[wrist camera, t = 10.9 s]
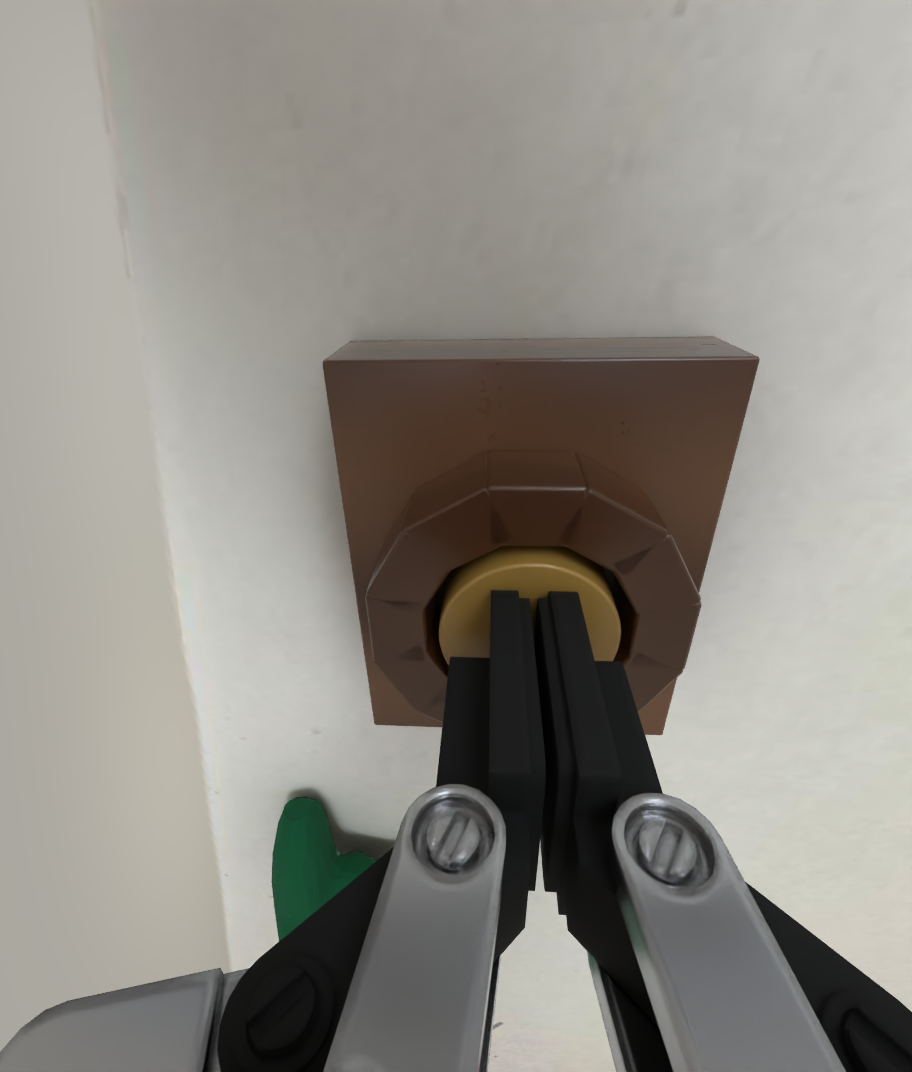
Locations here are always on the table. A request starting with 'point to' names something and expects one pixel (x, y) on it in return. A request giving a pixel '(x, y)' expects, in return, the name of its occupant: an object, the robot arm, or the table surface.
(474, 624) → the bell button
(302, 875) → the gaming controller
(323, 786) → the table surface
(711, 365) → the bell block
